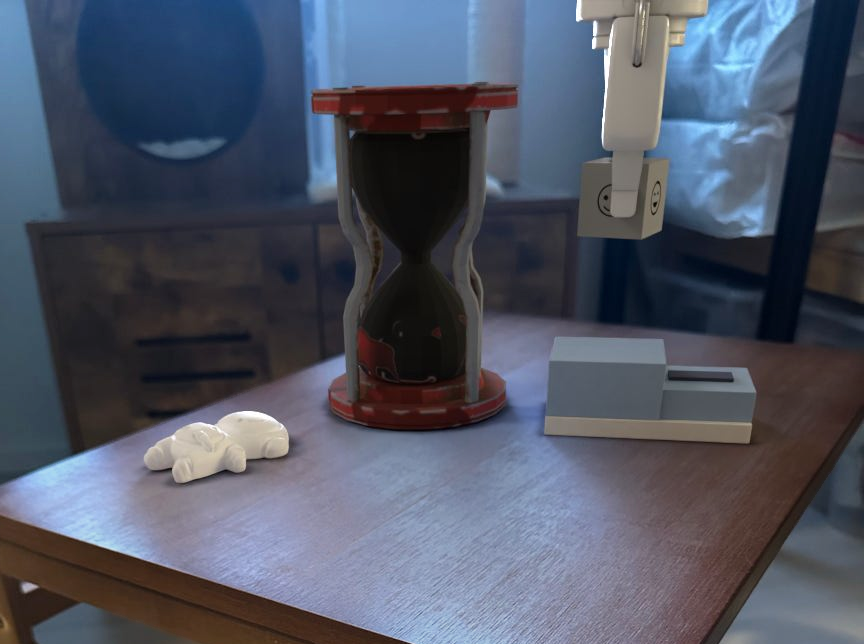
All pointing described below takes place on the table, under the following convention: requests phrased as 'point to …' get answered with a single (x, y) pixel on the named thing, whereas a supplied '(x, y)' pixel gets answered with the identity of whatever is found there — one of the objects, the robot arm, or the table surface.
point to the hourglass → (413, 251)
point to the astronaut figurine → (219, 446)
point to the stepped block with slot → (643, 393)
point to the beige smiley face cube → (598, 201)
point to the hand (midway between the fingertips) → (622, 210)
